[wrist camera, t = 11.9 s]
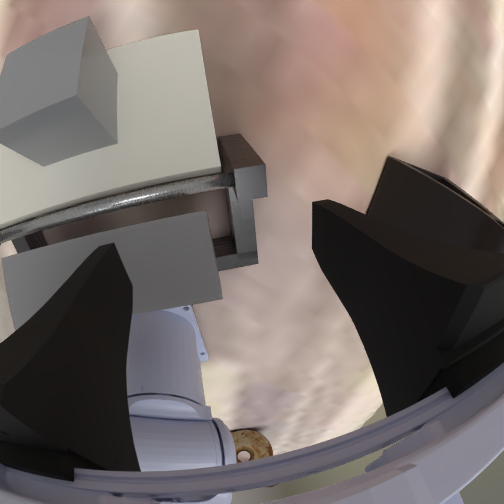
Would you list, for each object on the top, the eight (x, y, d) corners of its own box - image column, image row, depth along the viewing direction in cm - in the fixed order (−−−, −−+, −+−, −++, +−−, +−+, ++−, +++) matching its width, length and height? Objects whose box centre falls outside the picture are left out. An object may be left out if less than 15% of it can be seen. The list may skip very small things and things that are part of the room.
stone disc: (267, 423, 46) (280, 471, 38) (266, 429, 48) (278, 475, 40) (209, 432, 44) (217, 482, 36) (211, 438, 46) (219, 485, 38)
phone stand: (363, 218, 24) (449, 316, 14) (387, 154, 21) (500, 232, 11) (426, 230, 27) (501, 307, 17) (448, 179, 23) (537, 246, 14)
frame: (253, 245, 23) (275, 305, 18) (52, 283, 21) (29, 342, 16) (241, 133, 18) (267, 164, 13) (10, 193, 16) (-35, 242, 11)
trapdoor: (238, 285, 17) (244, 294, 13) (38, 318, 15) (4, 331, 11) (200, 66, 17) (198, 29, 13) (26, 118, 15) (-1, 98, 11)
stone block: (117, 143, 12) (76, 95, 7) (43, 166, 12) (-13, 136, 7) (117, 73, 12) (89, 15, 7) (49, 97, 12) (6, 54, 7)
